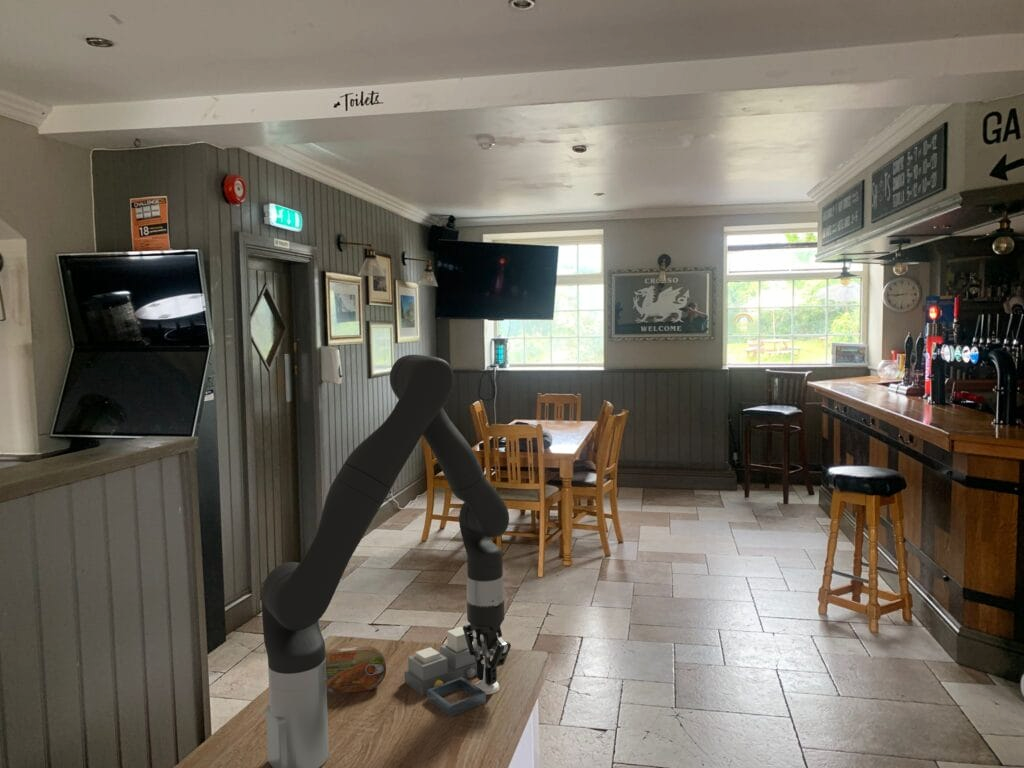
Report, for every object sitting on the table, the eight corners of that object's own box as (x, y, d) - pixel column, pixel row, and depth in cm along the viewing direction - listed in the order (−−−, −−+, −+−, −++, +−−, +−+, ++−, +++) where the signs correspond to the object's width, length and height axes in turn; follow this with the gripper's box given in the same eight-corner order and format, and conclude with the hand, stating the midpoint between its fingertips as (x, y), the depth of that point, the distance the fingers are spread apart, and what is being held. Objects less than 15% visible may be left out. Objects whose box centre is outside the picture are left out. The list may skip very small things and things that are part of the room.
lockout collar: (450, 717, 133) (450, 706, 133) (427, 699, 139) (426, 689, 139) (485, 702, 138) (485, 692, 138) (461, 686, 145) (461, 676, 144)
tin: (309, 696, 141) (308, 655, 141) (311, 688, 145) (310, 648, 144) (386, 689, 144) (385, 649, 143) (386, 682, 147) (385, 642, 146)
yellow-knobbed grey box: (424, 697, 140) (424, 670, 140) (404, 682, 146) (404, 656, 146) (483, 674, 149) (483, 649, 149) (462, 661, 155) (462, 637, 155)
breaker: (456, 652, 148) (456, 636, 148) (447, 646, 151) (447, 631, 150) (471, 647, 150) (470, 631, 150) (461, 641, 153) (461, 626, 153)
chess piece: (496, 695, 141) (495, 646, 140) (472, 693, 142) (470, 644, 141) (501, 683, 145) (500, 635, 145) (478, 681, 146) (477, 634, 146)
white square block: (425, 674, 143) (424, 658, 143) (415, 668, 146) (415, 652, 146) (440, 669, 145) (439, 653, 145) (430, 662, 148) (430, 647, 148)
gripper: (450, 592, 145) (452, 674, 146) (491, 612, 134) (492, 701, 136) (480, 583, 150) (481, 663, 151) (521, 602, 139) (523, 688, 140)
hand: (486, 680), depth 143 cm, fingers closed on chess piece
